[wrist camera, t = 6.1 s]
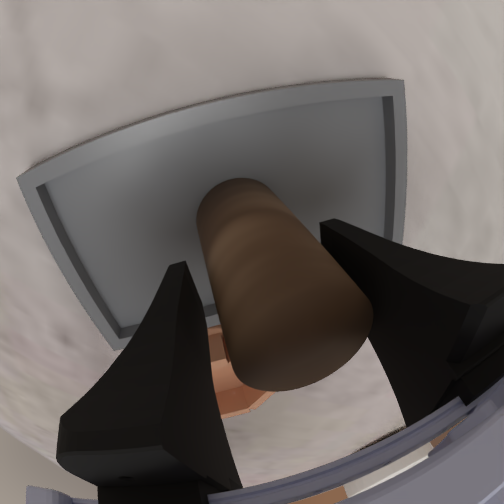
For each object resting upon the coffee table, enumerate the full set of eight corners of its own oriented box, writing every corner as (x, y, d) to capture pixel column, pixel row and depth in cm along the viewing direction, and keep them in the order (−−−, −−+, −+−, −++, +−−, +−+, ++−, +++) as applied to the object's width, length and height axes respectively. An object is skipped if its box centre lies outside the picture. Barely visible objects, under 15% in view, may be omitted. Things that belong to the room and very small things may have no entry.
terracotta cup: (181, 404, 22) (184, 429, 20) (136, 343, 18) (134, 374, 16) (278, 379, 23) (287, 403, 21) (262, 309, 18) (273, 338, 16)
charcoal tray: (116, 332, 17) (114, 350, 16) (29, 167, 11) (16, 177, 10) (387, 252, 18) (399, 265, 17) (385, 78, 12) (403, 79, 11)
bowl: (320, 466, 44) (334, 502, 37) (413, 413, 42) (434, 449, 35) (350, 469, 55) (362, 496, 48) (422, 428, 52) (437, 454, 45)
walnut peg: (207, 264, 15) (245, 404, 8) (187, 190, 13) (214, 316, 6) (283, 243, 15) (364, 362, 9) (274, 169, 13) (381, 264, 7)
